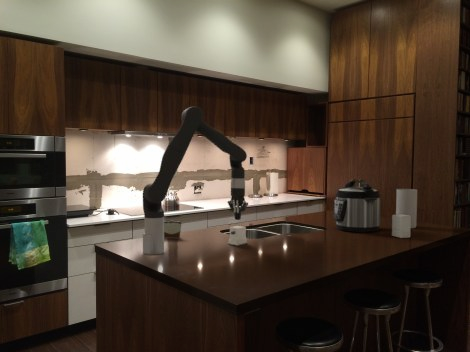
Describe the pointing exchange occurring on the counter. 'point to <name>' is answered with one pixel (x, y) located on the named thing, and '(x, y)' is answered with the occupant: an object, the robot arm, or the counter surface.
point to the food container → (172, 228)
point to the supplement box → (401, 225)
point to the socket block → (237, 242)
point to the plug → (237, 232)
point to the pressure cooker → (357, 208)
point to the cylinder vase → (407, 204)
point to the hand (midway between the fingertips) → (237, 219)
